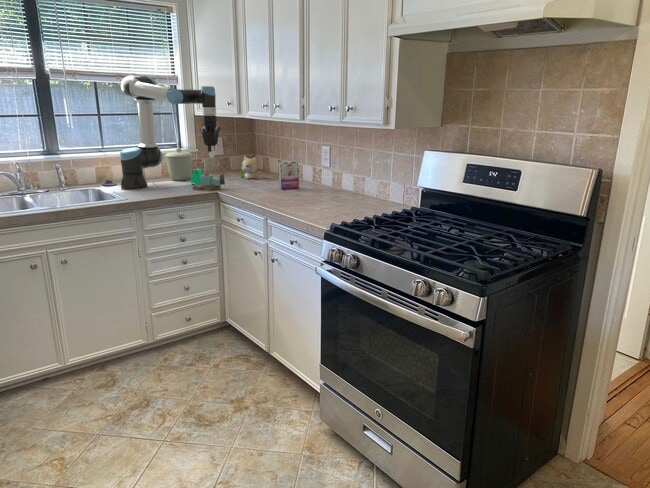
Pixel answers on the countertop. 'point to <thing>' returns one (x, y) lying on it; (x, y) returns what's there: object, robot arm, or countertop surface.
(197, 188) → the post block
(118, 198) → the countertop surface
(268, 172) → the countertop surface
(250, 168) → the cream rounded figure
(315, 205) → the countertop surface
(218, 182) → the teal stepped block
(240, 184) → the countertop surface
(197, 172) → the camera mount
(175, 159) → the canister
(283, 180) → the candy bar box
